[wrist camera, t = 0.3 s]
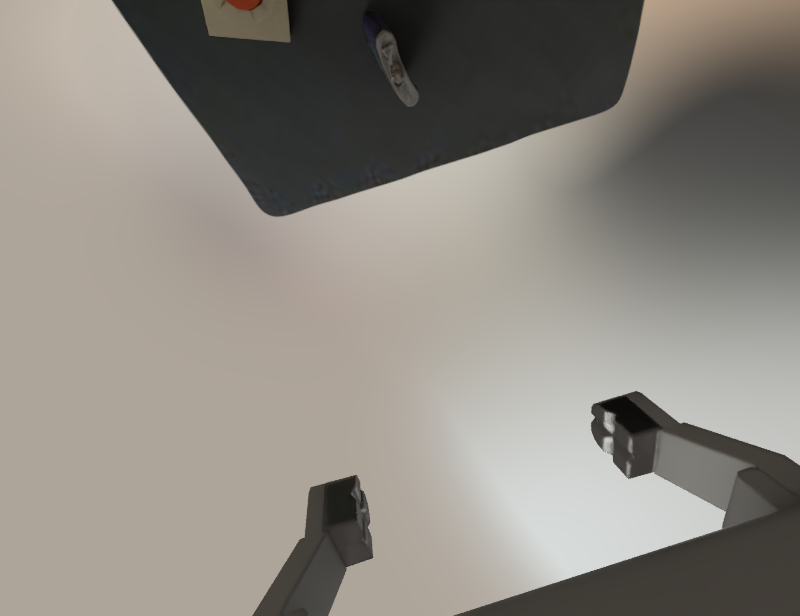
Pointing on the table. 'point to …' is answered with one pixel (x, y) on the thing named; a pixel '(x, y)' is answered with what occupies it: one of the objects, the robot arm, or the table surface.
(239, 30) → the button housing
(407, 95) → the flask
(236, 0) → the button
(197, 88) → the table surface
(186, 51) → the table surface
